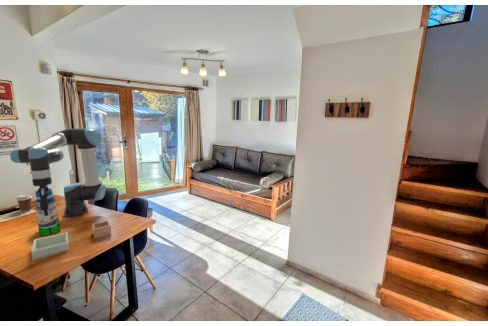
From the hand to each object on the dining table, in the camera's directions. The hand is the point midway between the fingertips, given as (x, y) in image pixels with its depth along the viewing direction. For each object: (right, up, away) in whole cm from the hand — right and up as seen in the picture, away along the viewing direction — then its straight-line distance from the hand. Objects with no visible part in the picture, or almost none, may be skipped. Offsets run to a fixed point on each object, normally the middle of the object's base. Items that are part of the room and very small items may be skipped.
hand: (47, 218), depth 126 cm
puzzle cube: (-19, -14, +24) cm, 34 cm away
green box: (0, -18, +3) cm, 19 cm away
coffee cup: (-64, -7, +56) cm, 85 cm away
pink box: (+17, -15, +20) cm, 31 cm away
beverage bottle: (0, -4, +1) cm, 4 cm away
